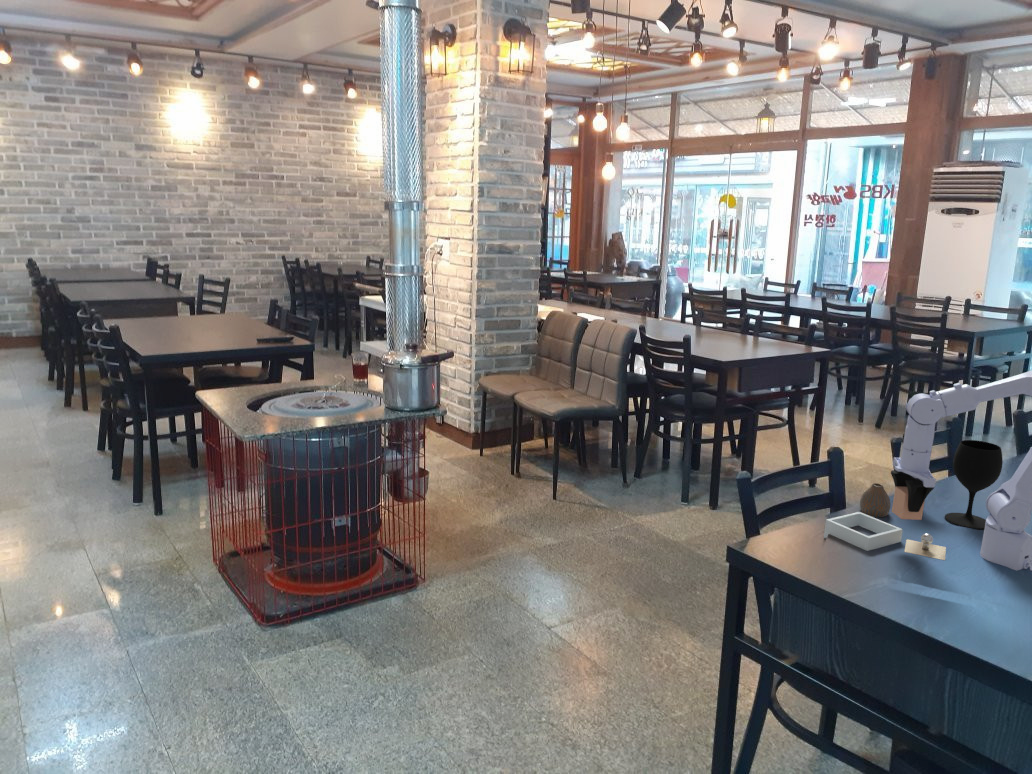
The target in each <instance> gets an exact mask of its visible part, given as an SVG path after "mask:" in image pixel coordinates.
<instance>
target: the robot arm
mask: <svg viewBox="0 0 1032 774" xmlns="http://www.w3.org/2000/svg"><path fill="white" fill-rule="evenodd" d="M1018 395H1027V396H1030V397H1032V369H1031V370H1028V371H1026V372H1023V373H1020V374H1016V375H1012V376H1009V377H1006V378H1003V379H1000V380H996V381H993V382H989V383H986V384H982V385H979V386H976V387H973V386H971V385H969V384H967V383H965V384H961V383H960V382H957V383H954V384H953V387H949V388H945V389H941V390H938V391H936V390H935V389H932V390H930V391H929V394H928V393H927V394H926V393H917V394H914V395H913V396H912V397H910V398H909V399H908V402H907V403H905V409H906V412H907V413H908V415H907V420H906V426H905V430H904V434H905V435H904V442H903V449H902V455H901V458H899V457H895V456H894V457H893V460H892V466H893V468H894V470H891V471H890V474H891V477H892V479H893V483H894V488H895V487H896V486H900V487H907V489H908V511H910V512H919V510H920V508H921V506H922V504H923V502H924V500H926V498H927V497H928V495H929V494H930V493H931V492H932V491H933V490H934V489H935V488H936V487H935V486H936V481H937V479H936V478H935V477H934V475H932V472H931V471H930V462H931V458H932V457H931V456H932V450H933V445H934V444H933V443H934V439H935V432H936V431H935V427H936V423H937V422H938V421H939V420H940V419H941V418H947V417H951V416H955V415H959V414H963V413H967V412H972V411H974V410H976V409H977V408H978V407H979V405H980V404H981V403H985V402H988V401H989V402H990V401H994V400H999V399H1002V398H1003V399H1004V398H1009V397H1012V396H1018ZM924 503H925V502H924ZM985 508H986V510H987V512H988V513H989V515H988V516H987V518H985V519H986V523H985V529H984V530H983V535H982V540H981V541H982V542H981V547H980V552H979V555H980V556H981V558H983V559H984V560H985V561H988V562H990V563H994V564H996V565H997V564H998V565H1001V566H1003V567H1006V568H1008V569H1011V570H1012V571H1013V570H1014V571H1020V570H1021V571H1022V570H1023V569H1025V570H1027V569H1028V568H1029V569H1030V572H1032V534H1030V533H1028V532H1026V530H1025V529H1026V528H1027V527H1028V526H1029V524H1030V521H1031V515H1032V514H1031V513H1032V446H1031V447H1030V448H1029V450H1028V452H1027V453H1026V455H1025V456H1024V458H1023V460H1022V461H1021V462H1020V464H1019V465H1018V467H1017V469H1016V470H1015V472H1014V473H1013V475H1011V478H1010V479H1009V480H1007V481H1004V482H1003V483H1001V485H1000V486H999V488H998V489H996V490H995V491H993V492H991V493H990V494H988V497H987V498H986V500H985Z"/></svg>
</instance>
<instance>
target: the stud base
mask: <svg viewBox="0 0 1032 774" xmlns="http://www.w3.org/2000/svg"><path fill="white" fill-rule="evenodd" d="M920 540H921V541H919V540H918V541H916V540H913V539H906V540H905V547H904V553H908V554H913V555H917V556H922V557H926V558H927V557H928V558H933V559H938V560H942V561H946V552H947V547H946V546H942V545H937V544H932V543H933V542H934V538H933V536H932V534H930V533H923V534H922V535H921V536H920Z"/></svg>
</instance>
